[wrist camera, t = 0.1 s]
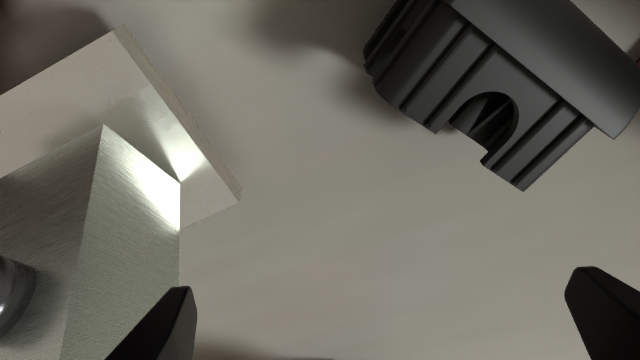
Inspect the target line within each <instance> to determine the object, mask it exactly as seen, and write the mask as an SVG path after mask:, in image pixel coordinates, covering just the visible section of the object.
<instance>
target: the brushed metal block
mask: <svg viewBox="0 0 640 360" xmlns="http://www.w3.org/2000/svg"><path fill="white" fill-rule="evenodd" d="M179 212H180V184H179V183H178V182H177V181H176V180H174V179H173V178H172V177H170V176H169V175H168V174H167V173H165V172H164V171H163V170H162V169H160V168H159V167H158V166H157V165H155V164H154V163H153V162H152V161H150V160H149V159H148V158H146V157H145V156H144V155H143V154H141V153H140V152H139V151H138V150H136V149H135V148H134V147H133V146H131V145H130V144H129V143H128V142H126V141H125V140H124V139H122V138H121V137H120V136H119V135H117V134H116V133H115V132H114V131H112V130H111V129H110V128H109V127H107V126H106V125H105V124H102V125H100V126H98V127H96V128H94V129H92V130H90V131H88V132H87V133H85V134H83V135H81V136H79V137H77V138H75V139H73V140H72V141H70V142H68V143H66V144H64V145H62V146H60V147H58V148H56V149H55V150H53V151H51V152H49V153H47V154H45V155H43V156H41V157H39V158H38V159H36V160H34V161H32V162H30V163H28V164H26V165H24V166H22V167H21V168H19V169H17V170H15V171H13V172H11V173H9V174H7V175H5V176H4V177H2V178H0V360H104V359H105V358H106V357H107V356H108V355H109V354H110V353H111V352H112V351H113V350H114V349H115V347H116V346H117V345H118V344H119V343H120V342H121V341H122V340H123V339H124V338H125V337H126V335H127V334H128V333H129V332H130V331H131V330H132V329H133V328H134V327H135V326H136V325H137V323H138V322H139V321H140V320H141V319H142V318H143V317H144V316H145V315H146V314H147V313H148V312H149V310H150V309H151V308H152V307H153V306H154V305H155V304H156V303H157V302H158V301H159V300H160V298H161V297H162V296H163V295H164V294H165V293H166V292H167V291H168V290H169V289H170V288H171V287H174V286H179Z"/></svg>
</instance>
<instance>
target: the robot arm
mask: <svg viewBox="0 0 640 360" xmlns="http://www.w3.org/2000/svg"><path fill="white" fill-rule="evenodd" d="M564 295H565V301H566V303H567V306H568V308H569V310H570V312H571V315H572V317H573V319H574V322H575V324H576V326H577V328H578V331H579V333H580V335H581V338H582V340H583V342H584V345H585V347H586V349H587V351H588V354H589V356H590V358H591V360H640V292H639V291H637V290H636V289H634V288H632V287H631V286H629V285H627V284H625V283H624V282H622V281H620V280H618V279H617V278H615V277H613V276H611V275H610V274H608V273H606V272H604V271H603V270H601V269H599V268H597V267H594V266H587V267H577V268H576V269H575V270H574V271H573V273H572V275H571V278H570V280H569V282H568V284H567V287H566V289H565V293H564ZM196 324H197V308H196V304H195V300H194V296H193V292H192V289H191V287H190V286H174V287H171V288H170V289H169V290H168V291H167V292H166V293H165V294H164V295H163V296H162V297H161V298H160V300H159V301H158V302H157V303H156V304H155V305H154V306H153V307H152V308H151V309H150V310H149V312H148V313H147V314H146V315H145V316H144V317H143V318H142V319H141V320H140V321H139V322H138V323H137V325H136V326H135V327H134V328H133V329H132V330H131V331H130V332H129V333H128V334H127V335H126V337H125V338H124V339H123V340H122V341H121V342H120V343H119V344H118V345H117V346H116V347H115V349H114V350H113V351H112V352H111V353H110V354H109V355H108V356H107V357H106V358H105V359H104V360H192V355H193V348H194V340H195V332H196Z"/></svg>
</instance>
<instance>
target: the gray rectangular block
mask: <svg viewBox="0 0 640 360" xmlns="http://www.w3.org/2000/svg"><path fill="white" fill-rule="evenodd" d="M102 124H105V125H106V126H107V127H109V128H110V129H111V130H112V131H114V132H115V133H116V134H117V135H119V136H120V137H121V138H122V139H124V140H125V141H126V142H128V143H129V144H130V145H131V146H133V147H134V148H135V149H136V150H138V151H139V152H140V153H141V154H143V155H144V156H145V157H146V158H148V159H149V160H150V161H152V162H153V163H154V164H155V165H157V166H158V167H159V168H160V169H162V170H163V171H164V172H165V173H167V174H168V175H169V176H170V177H172V178H173V179H174V180H176V181H177V182H178V183H179V184H180V212H179V230H180V229H182V228H184V227H186V226H188V225H191V224H193V223H195V222H197V221H200V220H202V219H204V218H206V217H208V216H211V215H213V214H215V213H217V212H220V211H222V210H224V209H226V208H228V207H231V206H233V205H235V204H237V203H239V201H240V195H241V190H242V187H241V186H240V184H239V183H238V181H237V180H236V179H235V177H234V176H233V174H232V173H231V172H230V170H229V169H228V167H227V166H226V165H225V163H224V162H223V161H222V159H221V158H220V156H219V155H218V154H217V152H216V151H215V149H214V148H213V147H212V145H211V144H210V142H209V141H208V140H207V138H206V137H205V135H204V134H203V133H202V131H201V130H200V128H199V127H198V126H197V124H196V123H195V122H194V120H193V119H192V117H191V116H190V115H189V113H188V112H187V110H186V109H185V108H184V106H183V105H182V103H181V102H180V101H179V99H178V98H177V96H176V95H175V94H174V92H173V91H172V90H171V88H170V87H169V85H168V84H167V83H166V81H165V80H164V78H163V77H162V76H161V74H160V73H159V71H158V70H157V69H156V67H155V66H154V64H153V63H152V62H151V60H150V59H149V58H148V56H147V55H146V53H145V52H144V51H143V49H142V48H141V46H140V45H139V44H138V42H137V41H136V39H135V38H134V37H133V35H132V34H131V32H130V31H129V30H128V28H127V27H126V26H125V24H122V25H121V26H119V27H117V28H115V29H114V30H112V31H110V32H109V33H107V34H105V35H103V36H102V37H100V38H98V39H97V40H95V41H93V42H91V43H90V44H88V45H86V46H84V47H83V48H81V49H79V50H78V51H76V52H74V53H72V54H71V55H69V56H67V57H65V58H64V59H62V60H60V61H59V62H57V63H55V64H53V65H52V66H50V67H48V68H47V69H45V70H43V71H41V72H40V73H38V74H36V75H34V76H33V77H31V78H29V79H28V80H26V81H24V82H22V83H21V84H19V85H17V86H16V87H14V88H12V89H10V90H9V91H7V92H5V93H3V94H2V95H0V178H2V177H4V176H5V175H7V174H9V173H11V172H13V171H15V170H17V169H19V168H21V167H22V166H24V165H26V164H28V163H30V162H32V161H34V160H36V159H38V158H39V157H41V156H43V155H45V154H47V153H49V152H51V151H53V150H55V149H56V148H58V147H60V146H62V145H64V144H66V143H68V142H70V141H72V140H73V139H75V138H77V137H79V136H81V135H83V134H85V133H87V132H88V131H90V130H92V129H94V128H96V127H98V126H100V125H102Z"/></svg>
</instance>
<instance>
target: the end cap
mask: <svg viewBox="0 0 640 360" xmlns="http://www.w3.org/2000/svg"><path fill="white" fill-rule="evenodd" d="M363 56H364V59H365V63H364V65H363V66H364V68H365V70H366V72H367V73H368V74H369V75H371V76H372V77H373V81H372V84H373V86H374V88H375V90H376V91H377V93H378V94H379V95H380V96H381V97H382V98H383V99H384V100H385V101H387V102H388V103H389V104H391V105H392V106H394V107H395V108H397V109H398V110H400V111H401V112H403V113H404V114H406V115H407V116H409V117H410V118H412V119H413V120H415V121H416V122H418V123H419V124H421V125H422V126H424V127H425V128H427V129H428V130H430V131H432V132H433V133H435V134H436V133H437V132H438V131H439V130H440V129H441V128H442V127H443V125H444V124H445V123H446V122H447V121H448V120H449V121H448V122H449V123H450V124H451V125H452V126H454V127H455V128H456V129H458V130H459V131H461V132H462V133H464V134H465V135H467V136H468V137H470V138H471V139H473V140H474V141H475V142H477V143H478V144H480V145H481V146H483V147H484V148H485V149H486V150H487V151H488V153H487V154H486V155H485V156H484V157H483V158H482V159H481V160H480V162H481V163H482V165H483V166H484V167H486V168H487V169H489V170H490V171H492V172H494V173H495V174H497V175H498V176H500V177H501V178H503V179H504V180H506V181H507V182H509V183H510V184H512V185H513V186H515V187H516V188H518V189H519V190H521V191H523V192H524V191H525V190H526V189H527V188H528V187H529V186H530V185H531V184H533V183H534V182H535V181H536V180H537V179H538V178H539V177H540V176H541V175H542V174H543V173H544V172H545V171H547V170H548V169H549V168H550V167H551V166H552V165H553V164H554V163H555V162H556V161H557V160H558V159H559V158H561V157H562V156H563V155H564V154H565V153H566V152H567V151H568V150H569V149H570V148H571V147H572V146H573V145H575V144H576V143H577V142H578V141H579V140H580V139H581V138H582V137H583V136H584V135H585V134H586V133H587V132H589V131H590V130H591V129H592V128H593V127H596V128H597V129H599V130H600V131H602V132H603V133H605V134H606V135H608V136H609V137H611V138H612V139H615V138H616V137H617V136H618V135H619V134H620V133H621V132H622V131H623V130H624V129H625V128H626V127H627V125H628V124H629V123H630V121H631V120H632V119H633V117H634V116H635V114H636V112H637V110H638V108H639V106H640V68H639V67H638V66H637V65H636V63H635V62H634V61H633V60H632V59H631V58H630V57H629V56H628V55H627V54H626V53H625V52H624V51H623V50H622V49H620V48H619V47H618V46H617V45H616V44H615V43H614V42H613V41H612V40H611V39H610V38H609V37H608V36H607V35H606V34H605V33H604V32H603V31H602V30H601V29H600V28H599V27H597V26H596V25H595V24H594V23H593V22H592V21H591V20H590V19H589V18H588V17H587V16H586V15H585V14H584V13H583V12H582V11H581V10H580V9H579V8H578V7H577V6H576V5H574V4H573V3H572V2H571V1H570V0H397V1H396V3H395V4H394V6H393V7H392V9H391V10H390V11H389V13H388V14H387V16H386V17H385V18H384V20H383V21H382V23H381V24H380V26H379V27H378V28H377V30H376V31H375V33H374V34H373V35H372V37H371V38H370V40H369V41H368V43H367V44H366V45H365V48H364V50H363Z"/></svg>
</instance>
